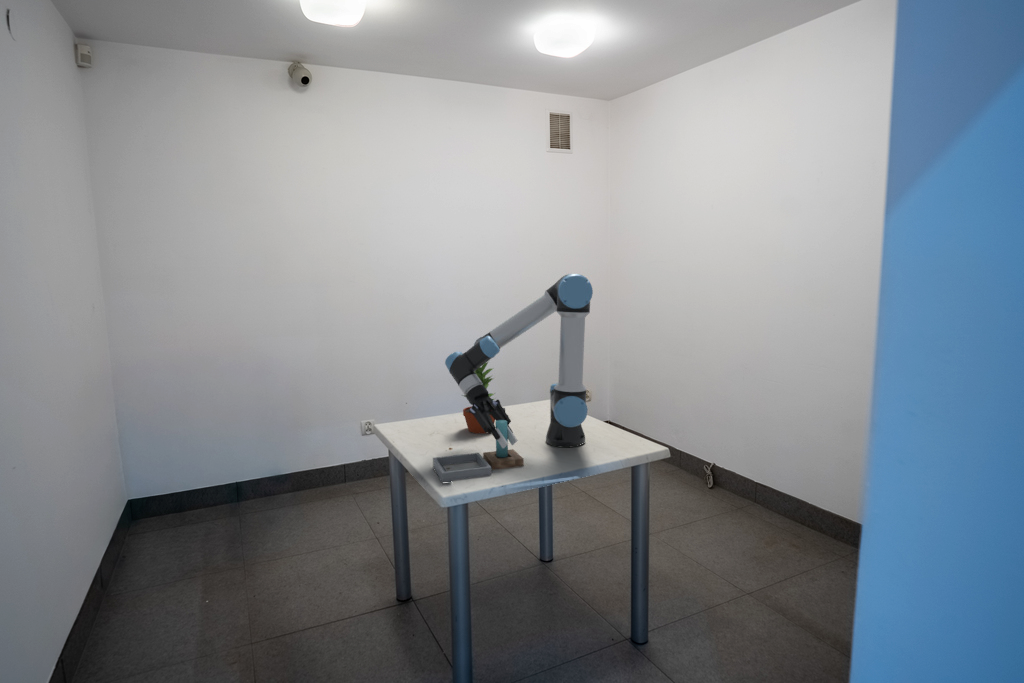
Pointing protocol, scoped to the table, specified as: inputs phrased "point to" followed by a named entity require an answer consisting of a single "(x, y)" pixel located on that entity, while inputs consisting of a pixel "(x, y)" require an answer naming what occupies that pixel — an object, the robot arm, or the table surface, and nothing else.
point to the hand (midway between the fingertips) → (510, 444)
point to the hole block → (503, 460)
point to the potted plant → (470, 419)
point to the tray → (460, 474)
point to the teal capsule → (503, 429)
